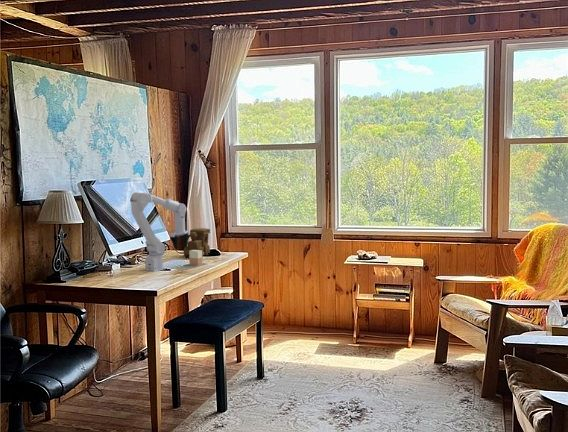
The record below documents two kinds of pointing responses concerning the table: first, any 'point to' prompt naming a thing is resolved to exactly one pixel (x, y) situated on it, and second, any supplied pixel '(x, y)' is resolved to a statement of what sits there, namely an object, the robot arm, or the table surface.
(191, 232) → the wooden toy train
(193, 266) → the baseplate
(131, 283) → the table surface
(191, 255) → the cream brick
